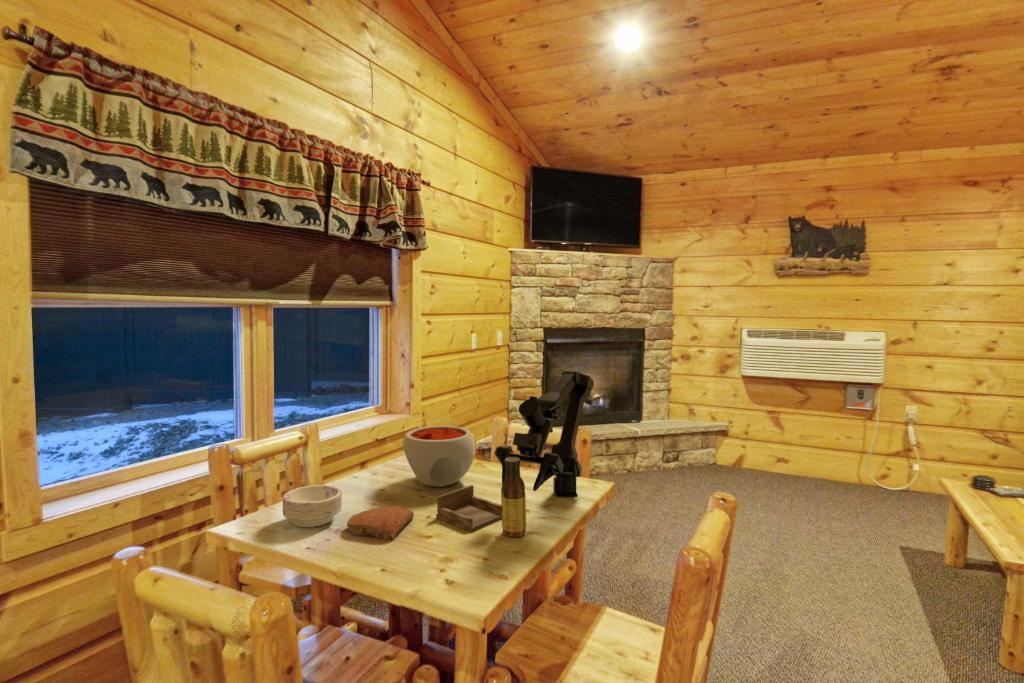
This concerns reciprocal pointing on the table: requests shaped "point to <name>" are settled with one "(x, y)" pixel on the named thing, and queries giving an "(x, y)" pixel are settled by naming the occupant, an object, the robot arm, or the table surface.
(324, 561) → the table surface
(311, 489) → the beige round bowl
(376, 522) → the brown rounded slab
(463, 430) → the pot
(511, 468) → the sauce bottle
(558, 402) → the robot arm
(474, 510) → the brown wooden tray
